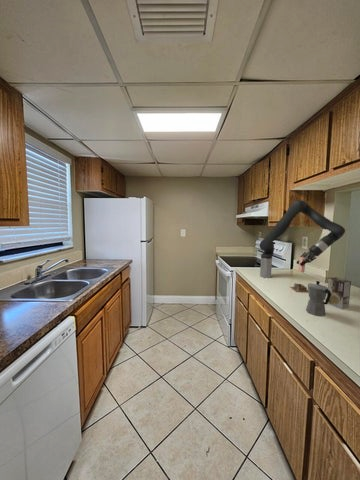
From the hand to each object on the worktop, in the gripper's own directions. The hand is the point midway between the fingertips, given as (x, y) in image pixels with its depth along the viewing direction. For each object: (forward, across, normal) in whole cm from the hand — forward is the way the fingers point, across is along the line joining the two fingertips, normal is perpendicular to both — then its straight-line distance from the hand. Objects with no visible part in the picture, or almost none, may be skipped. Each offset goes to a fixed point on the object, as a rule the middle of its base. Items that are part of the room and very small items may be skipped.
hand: (299, 264), depth 147 cm
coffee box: (+5, +24, +23) cm, 34 cm away
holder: (+13, 0, +15) cm, 20 cm away
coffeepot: (+18, +37, +10) cm, 42 cm away
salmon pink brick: (+2, 0, +5) cm, 6 cm away
